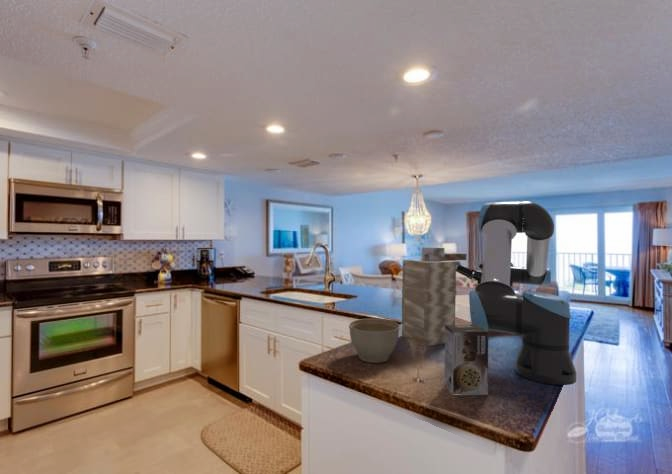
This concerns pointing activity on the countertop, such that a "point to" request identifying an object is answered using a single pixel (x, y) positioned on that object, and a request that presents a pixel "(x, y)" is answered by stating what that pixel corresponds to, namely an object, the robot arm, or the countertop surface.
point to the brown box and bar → (440, 255)
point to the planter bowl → (374, 338)
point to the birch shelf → (428, 300)
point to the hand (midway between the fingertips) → (460, 260)
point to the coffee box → (466, 359)
